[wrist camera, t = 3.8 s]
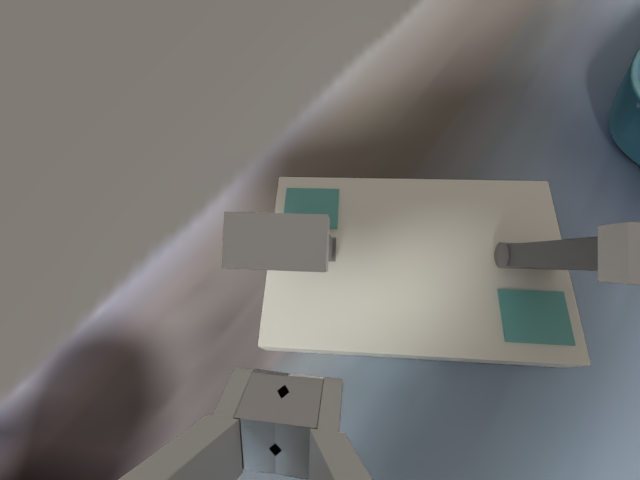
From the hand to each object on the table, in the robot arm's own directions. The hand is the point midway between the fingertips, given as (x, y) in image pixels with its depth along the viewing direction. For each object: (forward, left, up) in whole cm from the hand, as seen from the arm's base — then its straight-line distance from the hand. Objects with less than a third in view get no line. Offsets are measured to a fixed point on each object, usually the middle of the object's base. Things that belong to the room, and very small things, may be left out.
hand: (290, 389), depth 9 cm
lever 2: (+8, -15, -13) cm, 21 cm away
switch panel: (+9, -7, -17) cm, 21 cm away
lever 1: (+9, +1, -13) cm, 16 cm away
